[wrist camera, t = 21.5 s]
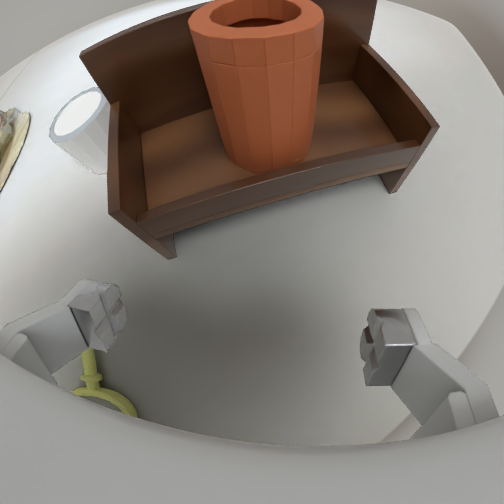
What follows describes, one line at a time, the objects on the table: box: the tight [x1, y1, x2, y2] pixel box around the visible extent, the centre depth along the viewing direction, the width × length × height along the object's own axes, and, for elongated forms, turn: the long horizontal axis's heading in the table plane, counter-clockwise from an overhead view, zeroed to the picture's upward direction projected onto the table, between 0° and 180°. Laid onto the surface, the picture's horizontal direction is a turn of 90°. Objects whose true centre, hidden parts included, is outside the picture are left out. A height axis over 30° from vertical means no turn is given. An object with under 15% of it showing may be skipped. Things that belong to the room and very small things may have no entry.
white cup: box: [49, 87, 110, 174], centre depth 23 cm, size 7×7×7 cm
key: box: [71, 347, 138, 418], centre depth 19 cm, size 7×12×2 cm, turn 25°
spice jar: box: [188, 0, 324, 174], centre depth 14 cm, size 6×6×10 cm
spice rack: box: [79, 0, 440, 259], centre depth 17 cm, size 10×20×14 cm, turn 106°
